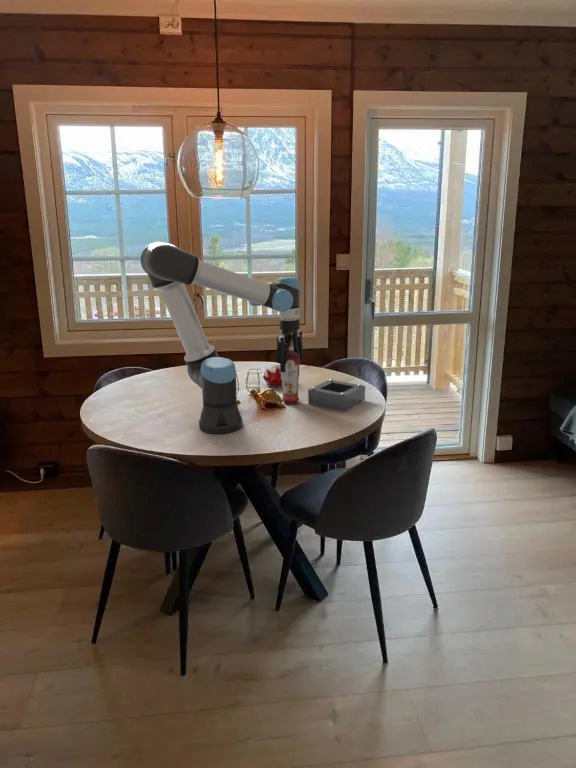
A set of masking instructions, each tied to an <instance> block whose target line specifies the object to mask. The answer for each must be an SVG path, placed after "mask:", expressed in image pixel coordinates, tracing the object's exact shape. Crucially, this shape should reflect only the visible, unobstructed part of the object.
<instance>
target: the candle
mask: <svg viewBox="0 0 576 768" xmlns="http://www.w3.org/2000/svg"><path fill="white" fill-rule="evenodd" d="M262 378H263V381H264V382H265V383H266V385H267V386H269V387H277V388H278V387H280V386H282V380H281V371H280V363H277V364H272V365H270V366H269V367H267V368H265V369H264V371H263V375H262Z"/></svg>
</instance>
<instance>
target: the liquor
mask: <svg viewBox="0 0 576 768" xmlns="http://www.w3.org/2000/svg"><path fill="white" fill-rule="evenodd" d="M291 335H293V332H291ZM292 340H293V339H292ZM299 358H300V355H299V354H298V353H296V352H294V347H293V341H292V342H291V346H290V347H289V351H288V356H287V361H286V364H288V380H287V381H285V380H282V385H281V386H282V388H281V389H282V397H281V401H283V403H285V404H287V405H295V404H297V403H298V402H299V401H300V397H299V377H300V366H299ZM283 361H284V360H283Z"/></svg>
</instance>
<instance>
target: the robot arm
mask: <svg viewBox="0 0 576 768" xmlns="http://www.w3.org/2000/svg"><path fill="white" fill-rule="evenodd" d="M140 266H141V267H142V270H143V271H144V272H145V273H146V274H147V277H148V278H149V282H150V283H151V285H152V288H153V289H154V290H157V291H159V293H160V294H161V297H162V299H163V302H164V304H165V306H166V309H167V312H168V314H169V316H170V318H171V321H172V323H173V325H174V328H175V330H176V333H177V335H178V337H179V339H180V342H181V344H182V346H183V349H184V351H185V355H184V357H183V359H184V361H185V364H186V367H187V374H188V376H189V378H190V380H191V381H192V382H193V383H194V384H196V385H197V386H198V387H199V388H200V389H201V391H202V393H201V394H202V395H201V396H202V409H201V413H200V416H199V417H200V418H199V420H198V426H199V427H198V428H199V430H200V431H202V432H203V433H206V434H212V435H213V434H215V435H223V434H230V433H234V432H237V431H240V430H241V429H242V428H243V426H244V424H243V423H244V422H243V420H244V419H243V417H242V416H241V413H240V410H239V407H238V401H237V399H238V398H237V396H238V395H237V369H236V364H235V362H234V361H233V360H231V359H230V358H225V357H219V355H218V352H217V349H216V348H215V346H214V345H212V344H209V341H208V339H207V337H206V334H205V332H204V329H203V326H202V325H201V322H200V319H199V317H198V314H197V312H196V309H195V306H194V305H193V301H192V299H191V297H190V294H189V292H188V289H187V288H186V286H192V285H198V286H200V287H203V288H206V289H210V290H213V291H215V292H219V293H222V294H226V295H228V296H232V297H235V298H237V299H241V300H244V301H248V303H249V305H251V306H254V307H260V306H262V307H265V308H268V309H272V310H275V311H276V312H279V313H278V314H279V315H278V317H279V329H280V330H281V335H280V336H277V337H276V344H277V347H276V359H275V361H276V363H277V364H279V365H280V371H281V380H285V381H287V380H288V364H286V361H287V356H288V351H289V347H290V346H291V342H292V341H293V347H294V352H296V353H298V354H299V355H300V358H299V367H300V366H301V365H300V363H301V362H300V360H302V359H303V357H304V349H303V331H300V330H299V329H300V325H301V324H300V322H301V321H300V280H299V278H298V277H296V276H281V277H279V279H278V282H277V283H265V282H263V281H260V280H257V279H254V278H253V277H249V276H246V275H243V274H240V273H237V272H234V271H231V270H230V269H229V270H228V269H226V268H222V267H219V266H217V265H214V264H211V263H208V262H206V261H202V260H201V258H200V257H199V256H197V255H195V254H193V253H190V252H189V251H186V250H184V249H182V248H180V247H178V246H177V245H174V244H172V243H167V242H164V241H155V242H151V243H149V244H148V245H146V246H145V247H144V248H143V250H142V251H141V253H140ZM298 330H299V331H298ZM291 332H293V335H291ZM292 339H293V340H292ZM283 360H284V361H283Z"/></svg>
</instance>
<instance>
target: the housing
mask: <svg viewBox="0 0 576 768" xmlns="http://www.w3.org/2000/svg"><path fill="white" fill-rule="evenodd" d="M307 392H308V393H307V396H308V397H307V398H308V400H307V401H308V402H307V403H308V405H310V406H314V407H315V406H316V407H320V408H325V409H330V410H333V411H334V410H335V411H339V412H343V411H345V412H347V411H348V410H351V408H353V406H354V407H356V406H357V405H359V404H361V403H363V402H365V401H366V385H364V384H361V383H357V384H356V383H352V382H346V381H340V380H334V379H333V378H330V379H328V380H327V381H324V382H322V383H321V382H320V383H318V384H317V385H314V386H312V387H310V388H308V390H307ZM364 400H365V401H364ZM362 401H363V402H362ZM355 405H356V406H355Z"/></svg>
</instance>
